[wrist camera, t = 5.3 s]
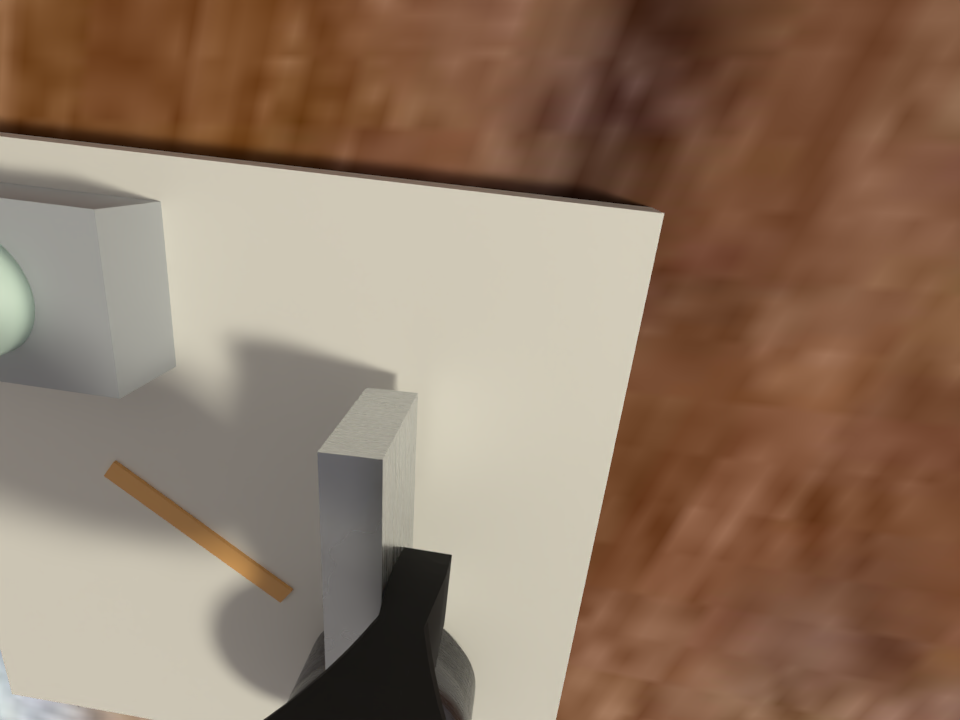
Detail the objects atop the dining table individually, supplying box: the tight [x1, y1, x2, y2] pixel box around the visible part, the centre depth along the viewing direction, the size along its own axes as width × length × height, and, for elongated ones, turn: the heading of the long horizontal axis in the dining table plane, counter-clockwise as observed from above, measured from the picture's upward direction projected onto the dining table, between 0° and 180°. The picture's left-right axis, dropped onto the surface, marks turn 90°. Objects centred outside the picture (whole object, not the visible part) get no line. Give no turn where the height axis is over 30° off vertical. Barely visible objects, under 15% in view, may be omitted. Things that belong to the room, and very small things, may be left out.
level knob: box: [287, 388, 475, 720], centre depth 14 cm, size 12×5×4 cm, turn 176°
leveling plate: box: [0, 132, 664, 720], centre depth 15 cm, size 18×18×4 cm
